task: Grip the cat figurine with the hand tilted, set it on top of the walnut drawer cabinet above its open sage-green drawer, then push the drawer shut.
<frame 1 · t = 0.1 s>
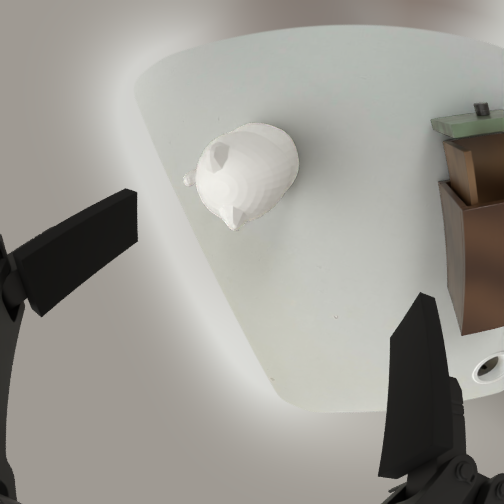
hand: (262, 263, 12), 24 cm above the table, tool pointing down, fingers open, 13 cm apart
cat figurine: (260, 158, 34), on the table
cabinet: (484, 231, 27), on the table
drawer: (494, 175, 21), point 5 cm above the table, slide at 6.0 cm
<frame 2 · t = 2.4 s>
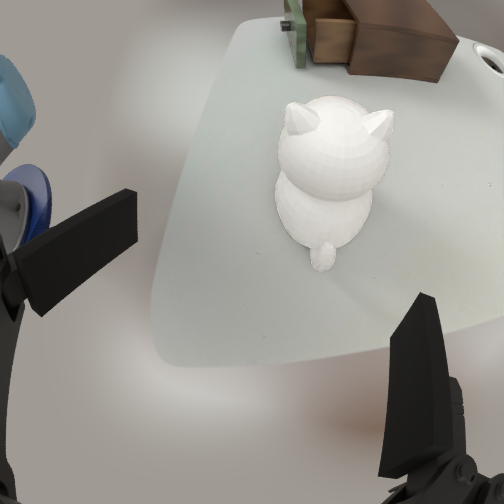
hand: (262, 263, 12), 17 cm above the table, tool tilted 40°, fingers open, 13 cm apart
cat figurine: (319, 217, 29), on the table
cabinet: (383, 52, 33), on the table
drawer: (334, 25, 29), point 5 cm above the table, slide at 6.0 cm
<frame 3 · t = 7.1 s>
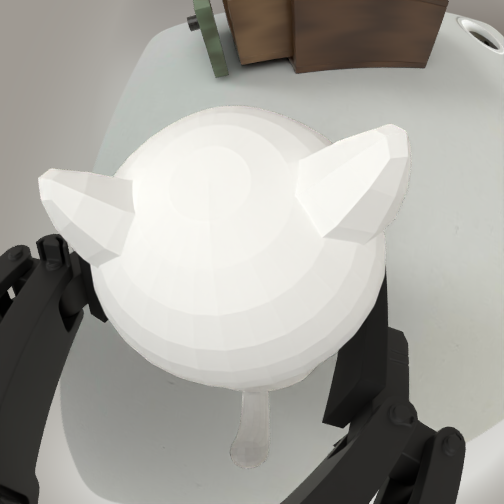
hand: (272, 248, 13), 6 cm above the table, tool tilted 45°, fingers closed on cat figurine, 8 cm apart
cat figurine: (259, 322, 18), on the table, touching gripper
cabinet: (344, 37, 24), on the table
drawer: (266, 8, 20), point 5 cm above the table, slide at 6.0 cm
when the fingers open (15 cm above the table, at t = 18.8 s): cat figurine stays where it is, resting on cabinet.
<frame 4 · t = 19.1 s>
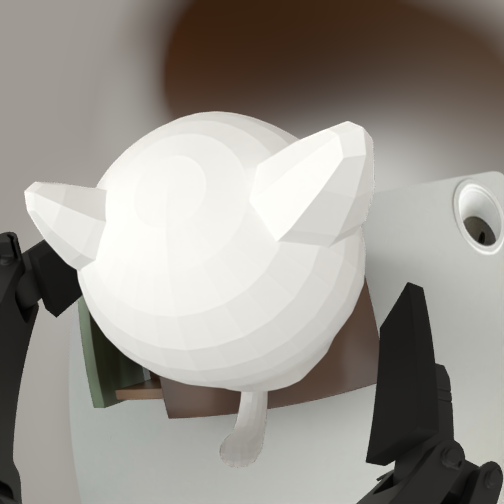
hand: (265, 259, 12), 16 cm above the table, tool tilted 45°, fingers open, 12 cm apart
cat figurine: (259, 322, 18), point 9 cm above the table, touching cabinet
cabinet: (268, 322, 27), on the table
drawer: (165, 338, 23), point 5 cm above the table, slide at 6.0 cm
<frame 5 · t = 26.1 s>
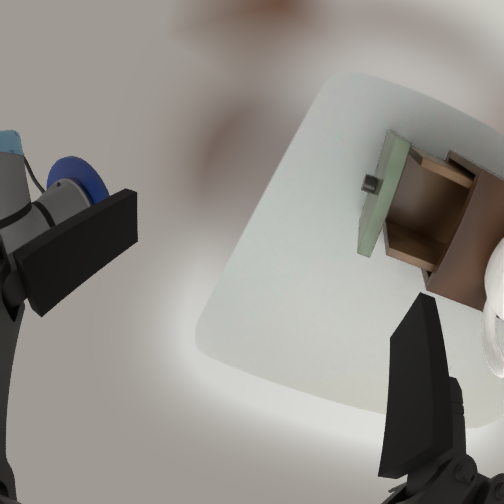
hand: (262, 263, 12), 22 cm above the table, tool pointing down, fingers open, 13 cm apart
cabinet: (482, 221, 25), on the table
drawer: (433, 209, 23), point 5 cm above the table, slide at 6.0 cm
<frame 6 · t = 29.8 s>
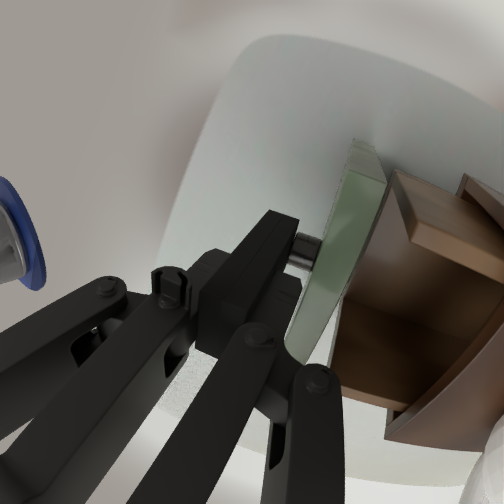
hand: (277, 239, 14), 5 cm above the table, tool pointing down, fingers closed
cabinet: (503, 290, 15), on the table
drawer: (429, 298, 12), point 5 cm above the table, slide at 5.7 cm, touching gripper
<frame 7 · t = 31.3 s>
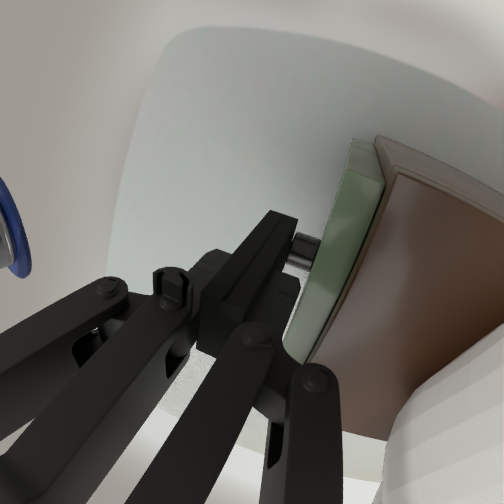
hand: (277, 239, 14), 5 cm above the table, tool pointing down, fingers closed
cat figurine: (479, 385, 8), point 9 cm above the table, touching cabinet
cabinet: (447, 265, 16), on the table
drawer: (429, 298, 12), point 5 cm above the table, slide at 0.0 cm, touching cabinet, gripper
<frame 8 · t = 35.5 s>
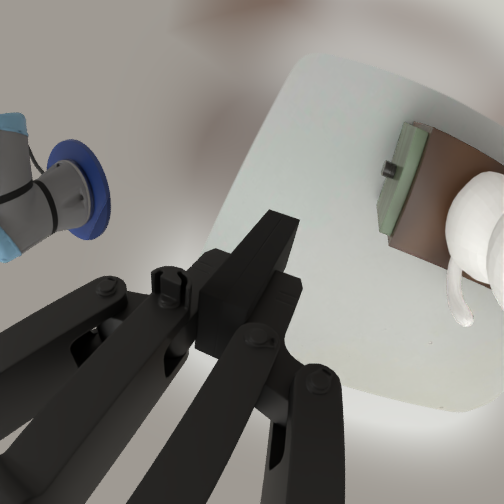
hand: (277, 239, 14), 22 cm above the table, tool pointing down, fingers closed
cat figurine: (476, 221, 20), point 9 cm above the table, touching cabinet
cabinet: (451, 190, 28), on the table
drawer: (445, 194, 25), point 5 cm above the table, slide at 0.0 cm, touching cabinet
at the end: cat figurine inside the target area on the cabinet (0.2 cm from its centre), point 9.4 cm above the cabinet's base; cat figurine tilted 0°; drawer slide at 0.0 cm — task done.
